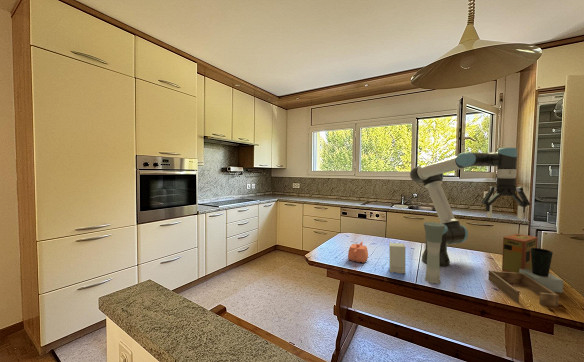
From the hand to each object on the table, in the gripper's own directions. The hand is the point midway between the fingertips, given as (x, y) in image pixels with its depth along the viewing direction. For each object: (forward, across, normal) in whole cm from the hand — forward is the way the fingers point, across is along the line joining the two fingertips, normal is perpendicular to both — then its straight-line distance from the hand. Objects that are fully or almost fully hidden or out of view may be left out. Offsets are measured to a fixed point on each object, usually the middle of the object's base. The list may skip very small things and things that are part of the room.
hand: (504, 218), depth 125 cm
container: (+33, -36, -10) cm, 50 cm away
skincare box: (+33, -52, -2) cm, 62 cm away
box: (+33, +15, +13) cm, 38 cm away
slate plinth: (+33, +14, -4) cm, 36 cm away
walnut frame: (+33, 0, -13) cm, 35 cm away
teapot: (+33, -73, +11) cm, 81 cm away
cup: (+27, +14, -4) cm, 30 cm away
